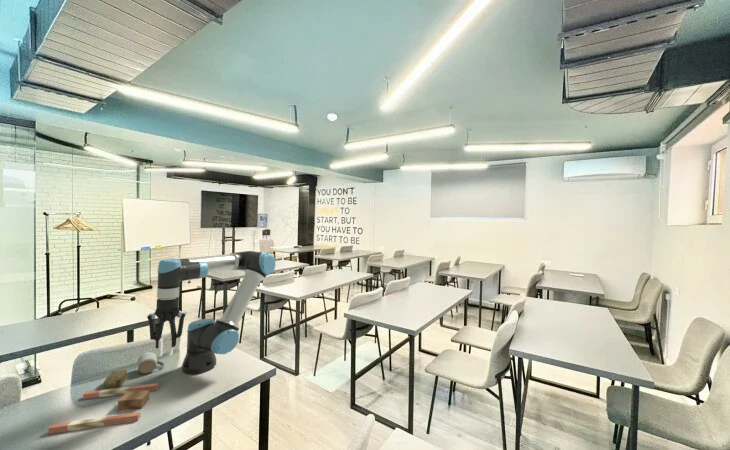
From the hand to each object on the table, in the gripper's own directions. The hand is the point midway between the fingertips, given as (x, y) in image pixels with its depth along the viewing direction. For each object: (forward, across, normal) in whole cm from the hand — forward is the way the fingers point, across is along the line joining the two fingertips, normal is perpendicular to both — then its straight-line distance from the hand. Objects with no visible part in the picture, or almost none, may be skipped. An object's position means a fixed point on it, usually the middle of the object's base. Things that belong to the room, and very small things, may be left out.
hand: (165, 355), depth 118 cm
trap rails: (+19, +18, 0) cm, 25 cm away
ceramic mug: (+19, +13, -29) cm, 37 cm away
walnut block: (+19, +10, 0) cm, 21 cm away
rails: (+19, +20, 0) cm, 27 cm away
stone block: (+19, +23, -17) cm, 34 cm away
